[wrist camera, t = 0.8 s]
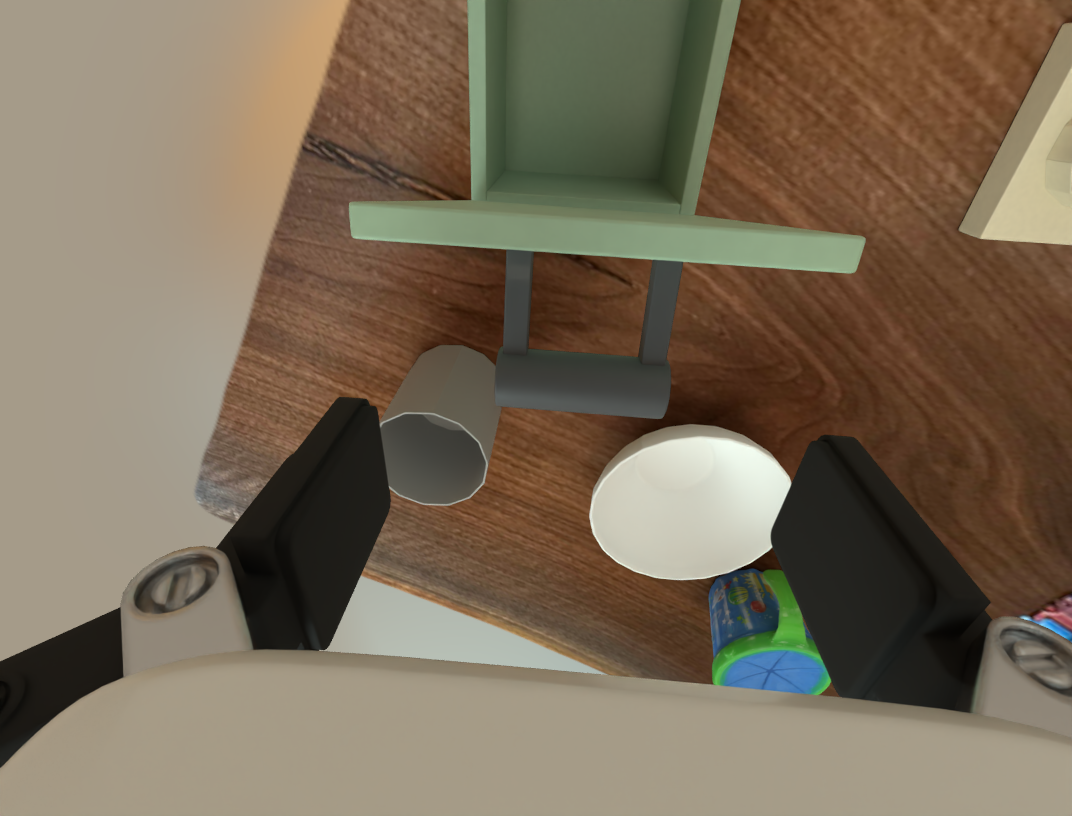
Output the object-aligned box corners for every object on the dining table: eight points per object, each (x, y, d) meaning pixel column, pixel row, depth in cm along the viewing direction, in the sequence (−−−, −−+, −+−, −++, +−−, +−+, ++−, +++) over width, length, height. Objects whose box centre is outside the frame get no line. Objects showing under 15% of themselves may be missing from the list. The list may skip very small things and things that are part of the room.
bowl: (723, 353, 39) (749, 400, 33) (791, 483, 46) (823, 541, 40) (554, 437, 44) (551, 490, 39) (637, 542, 51) (645, 600, 45)
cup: (470, 442, 45) (446, 522, 37) (392, 394, 43) (348, 467, 35) (524, 381, 41) (511, 455, 33) (441, 325, 39) (405, 389, 31)
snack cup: (722, 531, 50) (752, 623, 41) (822, 548, 50) (873, 642, 41) (673, 621, 58) (690, 712, 50) (759, 634, 58) (790, 727, 50)
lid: (346, 201, 11) (365, 425, 13) (868, 237, 11) (799, 460, 13) (470, 200, 25) (469, 308, 27) (696, 215, 25) (677, 323, 27)
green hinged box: (495, -130, 25) (462, -222, 18) (723, -119, 25) (786, -208, 17) (494, 180, 33) (471, 206, 26) (666, 191, 33) (693, 221, 25)
